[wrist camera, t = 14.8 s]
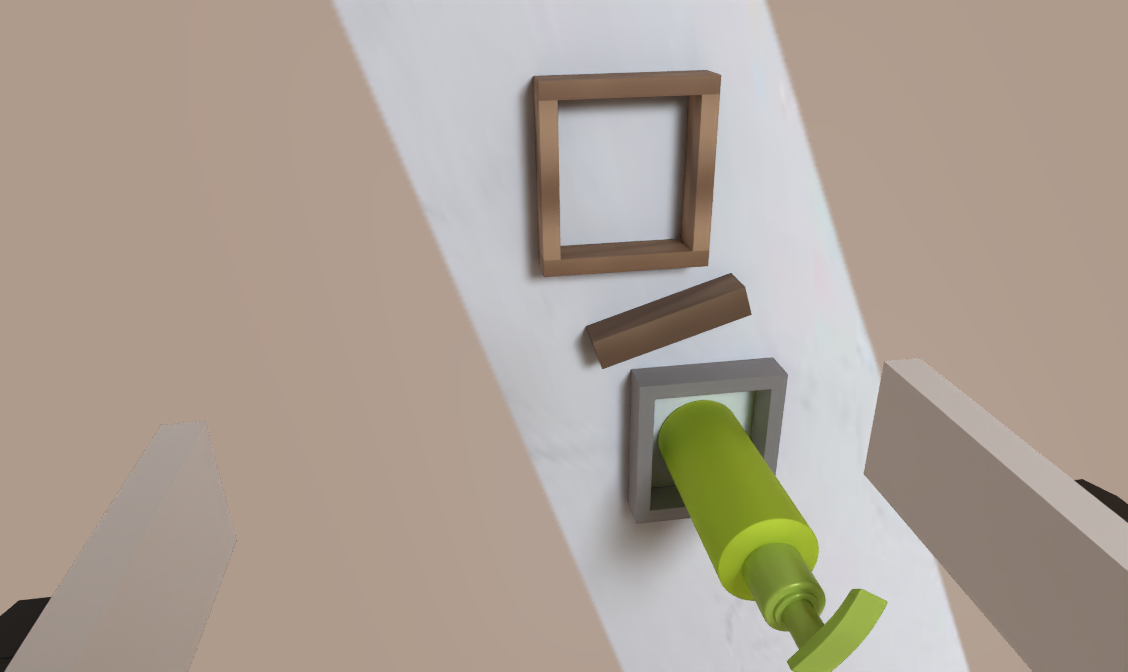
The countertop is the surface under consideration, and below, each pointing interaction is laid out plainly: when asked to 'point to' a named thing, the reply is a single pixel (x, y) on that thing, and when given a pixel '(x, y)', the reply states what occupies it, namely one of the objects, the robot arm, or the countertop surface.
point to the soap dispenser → (759, 535)
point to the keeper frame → (696, 382)
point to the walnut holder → (696, 179)
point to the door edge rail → (669, 320)
